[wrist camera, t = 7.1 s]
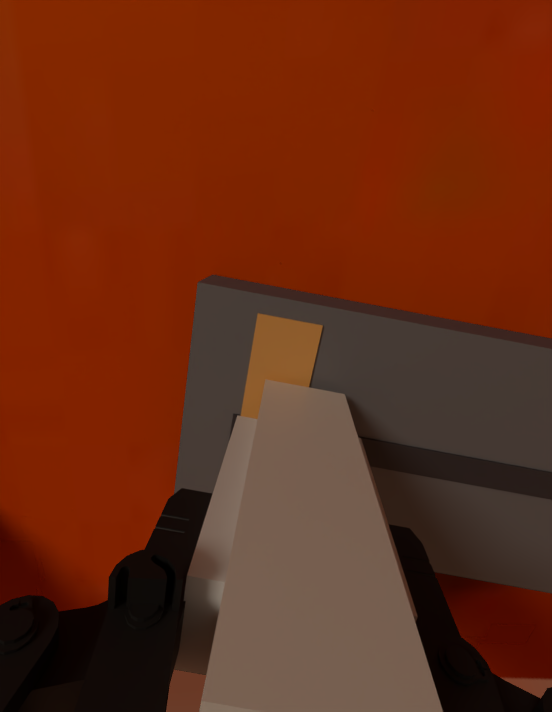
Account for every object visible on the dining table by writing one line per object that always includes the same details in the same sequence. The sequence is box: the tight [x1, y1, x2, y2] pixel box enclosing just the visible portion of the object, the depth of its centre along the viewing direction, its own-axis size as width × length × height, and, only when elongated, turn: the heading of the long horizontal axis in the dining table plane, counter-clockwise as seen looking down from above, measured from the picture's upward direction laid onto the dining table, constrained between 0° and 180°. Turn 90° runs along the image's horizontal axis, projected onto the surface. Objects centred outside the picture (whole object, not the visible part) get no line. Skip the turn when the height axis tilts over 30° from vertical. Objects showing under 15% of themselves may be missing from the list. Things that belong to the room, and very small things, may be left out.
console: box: [174, 275, 552, 593], centre depth 16 cm, size 23×11×3 cm, turn 80°
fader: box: [199, 379, 443, 712], centre depth 10 cm, size 3×5×10 cm, turn 170°
